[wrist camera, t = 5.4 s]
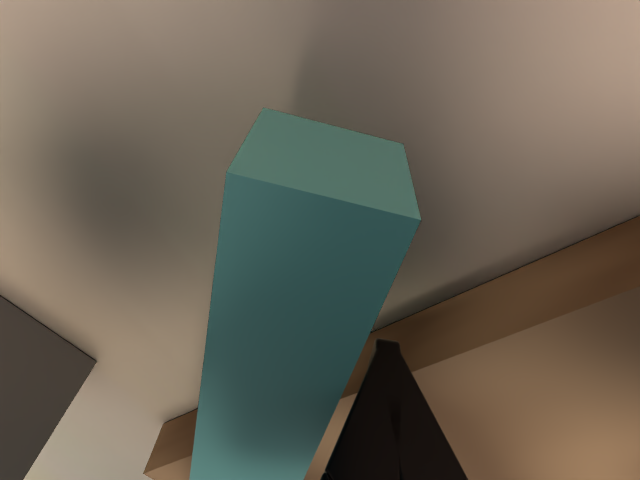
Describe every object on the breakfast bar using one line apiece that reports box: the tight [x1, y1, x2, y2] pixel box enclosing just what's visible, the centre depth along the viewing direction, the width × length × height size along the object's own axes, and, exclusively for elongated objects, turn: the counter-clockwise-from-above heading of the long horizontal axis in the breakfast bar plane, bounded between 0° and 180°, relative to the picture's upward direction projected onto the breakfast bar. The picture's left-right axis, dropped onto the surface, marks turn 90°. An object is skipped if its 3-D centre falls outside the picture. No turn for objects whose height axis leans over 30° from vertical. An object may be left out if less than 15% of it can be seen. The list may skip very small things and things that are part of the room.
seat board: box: [143, 216, 640, 480], centre depth 16 cm, size 20×14×2 cm
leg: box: [189, 108, 421, 480], centre depth 11 cm, size 16×3×2 cm, turn 167°
